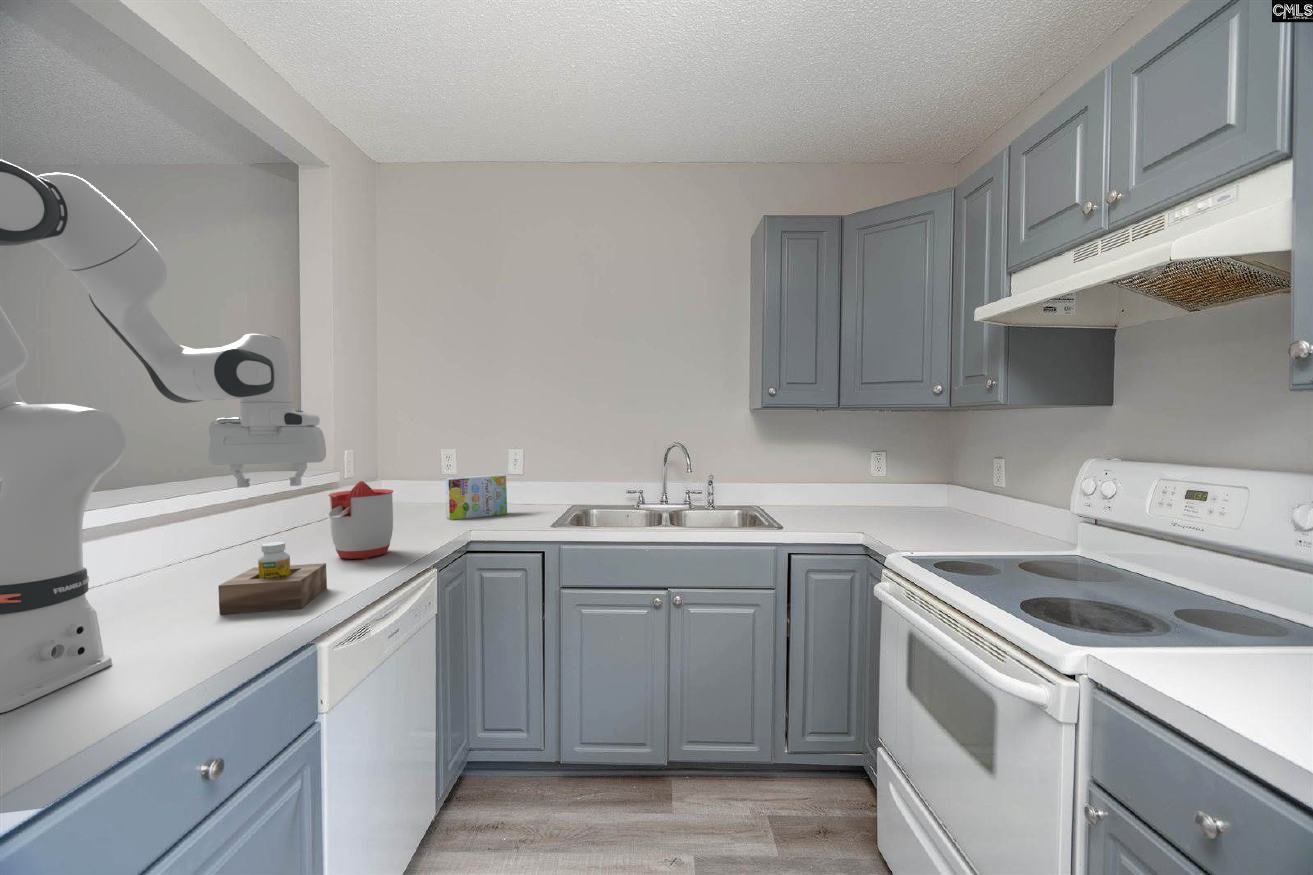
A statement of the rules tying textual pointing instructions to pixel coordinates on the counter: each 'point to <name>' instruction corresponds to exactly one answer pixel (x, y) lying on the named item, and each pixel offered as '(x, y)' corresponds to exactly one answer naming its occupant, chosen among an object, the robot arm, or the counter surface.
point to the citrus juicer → (361, 521)
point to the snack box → (476, 496)
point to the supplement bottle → (274, 561)
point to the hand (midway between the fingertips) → (269, 486)
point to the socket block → (272, 590)
